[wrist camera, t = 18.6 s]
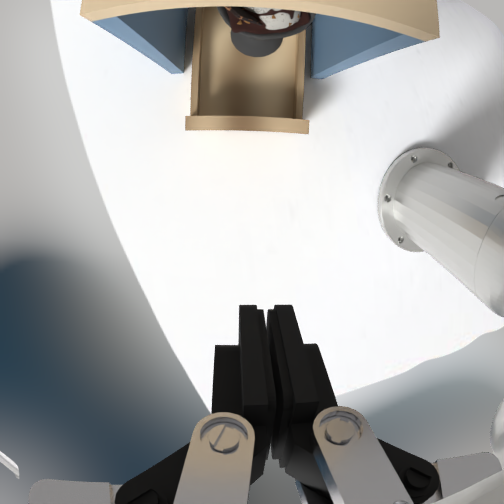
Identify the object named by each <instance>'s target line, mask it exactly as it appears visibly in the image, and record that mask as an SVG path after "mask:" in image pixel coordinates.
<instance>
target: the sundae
mask: <svg viewBox="0 0 504 504" xmlns="http://www.w3.org/2000/svg"><path fill="white" fill-rule="evenodd" d="M217 9H218V11H219V13H220V15H221V17H222V18H223V20H224V21H225V23H226V24H227V25H228V26H229V27H230V28H231V32H230V33H231V41H232V43H233V45H234V46H235V48H236V49H237V50H238V51H240V52H241V53H243V54H244V55H247V56H251V57H265V56H268V55H270V54H272V53H274V52H275V51H276V50H277V49H278V48H279V47H280V46H281V43H282V40H283V38H285V37H289V36H292V35H295V34H298V33H300V32H302V31H303V30H305V29H306V28H307V27H308V26H309V25H310V24H311V23H312V21H313V20H314V18H315V15H316V13H310V12H303V11H295V10H286V9H275V8H262V7H239V6H217Z"/></svg>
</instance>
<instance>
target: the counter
mask: <svg viewBox="0 0 504 504" xmlns="http://www.w3.org/2000/svg"><path fill="white" fill-rule="evenodd" d="M210 6H239V7H262V8H275V9H286V10H295V11H303V12H310V13H316V15H315V18H314V20H313V21H312V44H311V76H310V78H318V79H323V78H326V77H328V76H330V75H333V74H335V73H338V72H340V71H343V70H345V69H347V68H350V67H353V66H355V65H358V64H360V63H363V62H366V61H368V60H371V59H374V58H376V57H379V56H382V55H385V54H388V53H391V52H394V51H397V50H400V49H403V48H406V47H409V46H412V45H415V44H419V43H422V42H426V41H429V40H433V39H436V38H440V36H439V21H438V10H437V0H82V4H81V10H80V15H81V16H82V17H84V18H86V19H88V20H89V21H91V22H93V23H94V24H96V25H98V26H100V27H101V28H103V29H104V30H106V31H108V32H109V33H111V34H113V35H114V36H116V37H117V38H119V39H121V40H122V41H124V42H125V43H127V44H128V45H130V46H131V47H133V48H135V49H136V50H138V51H139V52H141V53H142V54H144V55H145V56H147V57H148V58H150V59H151V60H152V61H154V62H155V63H157V64H158V65H160V66H161V67H163V68H164V69H165V70H167V71H168V72H170V73H171V74H176V73H184V54H185V38H186V24H187V12H188V7H210Z"/></svg>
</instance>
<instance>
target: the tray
mask: <svg viewBox="0 0 504 504" xmlns="http://www.w3.org/2000/svg"><path fill="white" fill-rule="evenodd" d="M230 32H231V28H230V27H229V26H228V25H227V24H226V23H225V21H224V20H223V18H222V17H221V15H220V13H219V11H218V9H217V6H210V7H196V13H195V26H194V41H193V59H192V80H191V112H190V116H186V121H185V130H244V131H270V132H287V133H301V134H309V120H303V119H302V115H303V95H304V71H305V38H306V29H305V30H303V31H302V32H300V33H298V34H295V35H292V36H289V37H285V38H283V40H282V43H281V46H280V47H279V48H278V49H277V50H276V51H275V52H274V53H272V54H270V55H268V56H265V57H251V56H247V55H244V54H243V53H241V52H240V51H238V50H237V49H236V48H235V46H234V45H233V43H232V41H231V33H230Z"/></svg>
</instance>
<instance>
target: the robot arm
mask: <svg viewBox="0 0 504 504" xmlns="http://www.w3.org/2000/svg"><path fill="white" fill-rule="evenodd" d="M411 157H412V159H411ZM385 196H386V198H385ZM378 215H379V220H380V223H381V226H382V228H383V230H384V232H385V233H386V235H387V236H388V237H389V239H390V240H391V241H392V242H393V243H395V244H396V245H397V246H398V247H400V248H402V249H404V250H407V251H411V252H423V251H425V252H426V253H427V254H429V255H430V256H431V257H432V258H433V259H435V260H436V261H437V262H438V263H439V264H440V265H442V266H443V267H444V268H445V269H446V270H447V271H449V272H450V273H451V274H452V275H453V276H454V277H455V278H456V279H458V280H459V281H460V282H461V283H462V284H463V285H464V286H465V287H466V288H467V289H469V290H470V291H471V292H472V293H473V294H474V295H475V296H476V297H477V298H478V299H479V300H480V301H481V302H483V303H484V304H485V305H486V306H487V307H488V308H489V309H490V310H491V311H493V312H494V313H495V314H497V315H499V316H501V317H504V188H502V187H500V186H497V185H495V184H492V183H490V182H487V181H485V180H482V179H480V178H477V177H474V176H471V175H469V174H466V173H463V172H460V171H459V169H458V167H457V166H456V164H455V162H454V161H453V160H452V159H451V158H450V157H449V156H447V155H446V154H444V153H443V152H441V151H438V150H435V149H431V148H416V149H413V150H410V151H408V152H406V153H404V154H402V155H401V156H400V157H399V158H398V159H396V160H395V161H394V162H393V164H392V165H391V166H390V167H389V169H388V170H387V172H386V174H385V176H384V178H383V180H382V183H381V186H380V189H379V195H378ZM270 443H271V452H272V458H273V459H279V464H280V468H283V467H285V472H286V473H287V474H289V475H290V476H292V477H293V478H294V479H295V485H296V487H297V490H298V493H299V496H300V499H301V502H302V504H504V470H502V468H503V469H504V399H503V400H502V402H501V403H500V405H499V407H498V409H497V411H496V414H495V416H494V418H493V422H492V425H491V431H490V443H491V448H492V451H493V454H491V453H489V452H482V453H477V454H471V455H466V456H460V457H453V458H446V459H439V460H436V461H435V462H434V463H430V462H428V461H426V460H424V459H422V458H420V457H417V456H415V455H413V454H410V453H408V452H406V451H404V450H401V449H399V448H397V447H395V446H393V445H391V444H388V443H386V442H384V441H382V440H380V439H378V438H376V436H375V434H374V432H373V431H372V429H371V427H370V425H369V424H368V422H367V420H366V419H365V418H364V417H363V415H362V414H360V413H359V412H357V411H356V410H354V409H351V408H349V407H342V406H338V405H337V402H336V399H335V395H334V392H333V389H332V386H331V383H330V380H329V377H328V374H327V371H326V368H325V365H324V362H323V359H322V356H321V353H320V350H319V347H318V345H317V344H316V343H315V344H303V340H302V337H301V334H300V330H299V327H298V323H297V320H296V316H295V313H294V309H293V306H292V305H275V306H274V309H268V313H267V326H266V324H265V318H264V311H263V309H257V305H239V345H215V356H214V374H213V393H212V414H210V415H208V416H206V417H204V418H203V419H201V420H200V421H199V423H197V425H196V427H195V429H194V431H193V435H192V438H191V442H189V443H188V444H187V445H185V446H184V447H182V448H181V449H179V450H178V451H176V452H175V453H173V454H172V455H170V456H168V457H167V458H165V459H164V460H162V461H161V462H159V463H157V464H156V465H155V466H153V467H151V468H149V469H148V470H146V471H144V472H143V473H141V474H139V475H138V476H136V477H134V478H132V479H131V480H129V481H127V482H126V483H125V484H123V485H111V484H110V483H102V482H77V481H76V482H75V481H63V480H53V479H52V480H51V479H43V480H39V481H37V482H35V483H34V485H33V486H32V487H31V489H30V492H29V500H28V502H29V503H28V504H248V500H249V491H250V485H251V484H252V483H254V482H255V481H256V480H257V479H258V478H259V477H260V476H261V475H263V471H264V466H265V460H267V459H268V454H269V449H270Z"/></svg>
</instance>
